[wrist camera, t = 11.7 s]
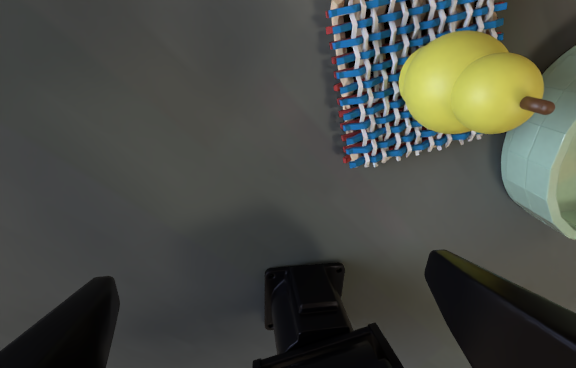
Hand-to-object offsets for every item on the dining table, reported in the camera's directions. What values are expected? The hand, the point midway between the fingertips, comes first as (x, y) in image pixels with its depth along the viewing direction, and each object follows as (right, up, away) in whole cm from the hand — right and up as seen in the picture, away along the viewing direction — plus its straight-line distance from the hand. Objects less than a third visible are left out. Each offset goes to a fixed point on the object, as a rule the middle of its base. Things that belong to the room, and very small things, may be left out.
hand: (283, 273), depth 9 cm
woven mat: (+8, +10, +12) cm, 17 cm away
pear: (+8, +9, +10) cm, 15 cm away
